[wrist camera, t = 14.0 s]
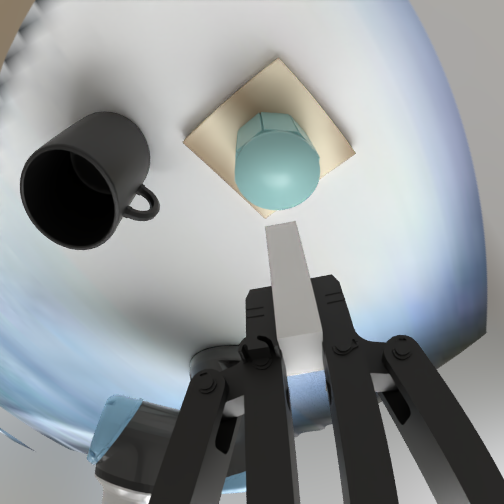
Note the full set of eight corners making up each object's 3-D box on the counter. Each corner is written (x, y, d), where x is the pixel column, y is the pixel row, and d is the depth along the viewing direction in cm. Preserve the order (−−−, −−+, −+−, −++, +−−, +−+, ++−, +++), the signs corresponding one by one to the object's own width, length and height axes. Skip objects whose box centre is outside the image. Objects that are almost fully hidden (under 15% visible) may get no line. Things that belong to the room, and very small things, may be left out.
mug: (151, 220, 32) (127, 279, 25) (59, 174, 27) (14, 221, 20) (191, 148, 27) (170, 196, 20) (84, 96, 22) (29, 125, 15)
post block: (264, 212, 31) (267, 245, 27) (185, 138, 26) (172, 160, 22) (352, 148, 27) (371, 172, 23) (278, 57, 21) (285, 61, 17)
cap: (301, 177, 27) (313, 212, 23) (235, 174, 27) (233, 208, 23) (309, 116, 24) (326, 137, 19) (238, 110, 23) (236, 130, 19)
